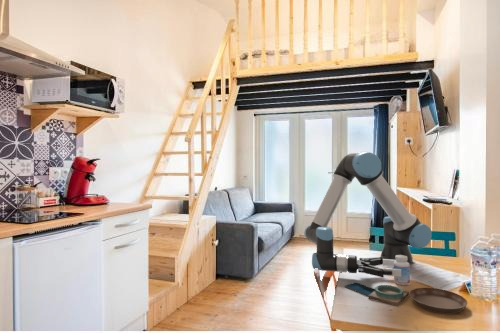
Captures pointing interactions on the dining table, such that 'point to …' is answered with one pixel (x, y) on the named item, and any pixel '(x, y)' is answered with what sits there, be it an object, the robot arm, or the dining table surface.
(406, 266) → the pill bottle
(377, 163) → the robot arm
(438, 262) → the dining table surface
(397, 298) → the holder board
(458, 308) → the plant saucer
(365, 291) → the smartphone
